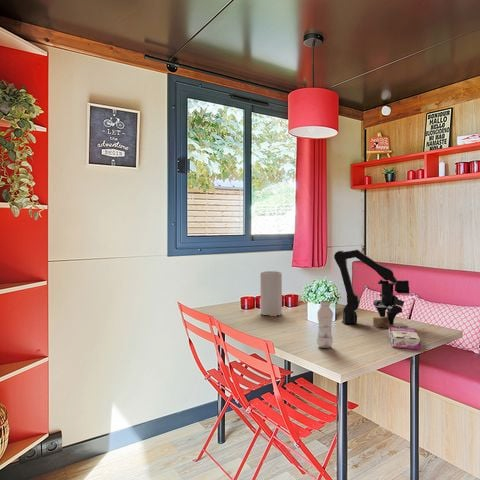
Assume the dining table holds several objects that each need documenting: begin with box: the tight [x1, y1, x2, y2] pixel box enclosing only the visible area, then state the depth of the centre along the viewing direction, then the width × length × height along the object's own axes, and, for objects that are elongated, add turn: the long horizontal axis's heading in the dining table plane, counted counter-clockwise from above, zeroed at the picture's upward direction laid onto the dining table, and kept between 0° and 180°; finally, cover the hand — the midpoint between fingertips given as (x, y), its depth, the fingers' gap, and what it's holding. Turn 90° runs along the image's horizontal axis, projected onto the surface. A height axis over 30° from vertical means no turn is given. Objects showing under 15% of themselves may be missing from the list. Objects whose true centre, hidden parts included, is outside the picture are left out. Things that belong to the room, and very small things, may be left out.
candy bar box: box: [388, 327, 421, 350], centre depth 166 cm, size 11×5×16 cm
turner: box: [372, 316, 409, 329], centre depth 194 cm, size 17×6×5 cm, turn 101°
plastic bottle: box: [316, 300, 334, 349], centre depth 161 cm, size 6×7×20 cm
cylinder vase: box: [260, 270, 283, 317], centre depth 222 cm, size 12×12×25 cm
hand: (387, 322), depth 194 cm, fingers open, 7 cm apart
